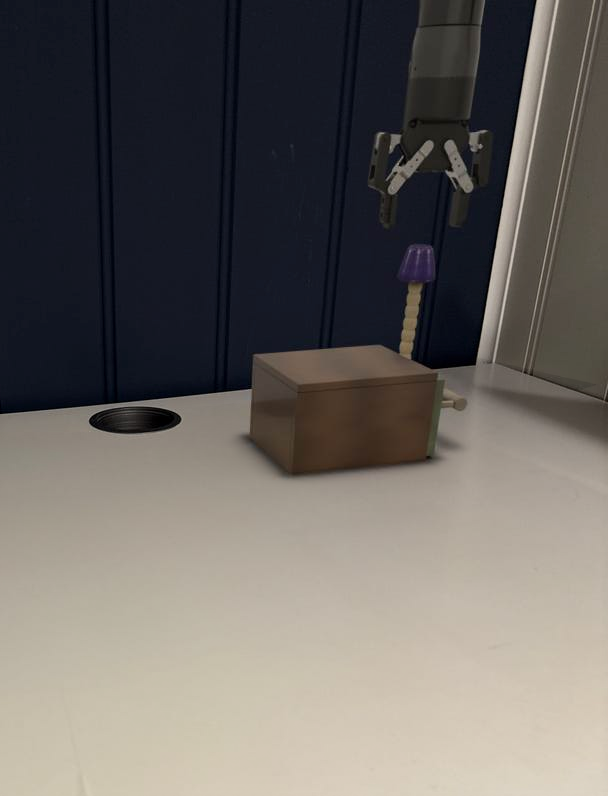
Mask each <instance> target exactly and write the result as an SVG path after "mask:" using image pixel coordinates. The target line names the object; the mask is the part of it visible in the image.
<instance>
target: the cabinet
mask: <svg viewBox="0 0 608 796" xmlns="http://www.w3.org/2000/svg"><path fill="white" fill-rule="evenodd" d="M438 376H439V372H437V371H436V370H434V369H431V368H429V367H427V366H425V365H423V364H421V363H418V362H417V361H416V360H415V361H414V360H413V359H412V358H411V359H408V358H406V357H404V356H402V355H400V353H398V352H396V351H394V350H392V349H390V348H388V347H386V346H384V345H381V344H371V345H359V346H346V347H334V348H321V349H307V350H296V351H295V350H294V351H283V352H282V351H281V352H280V351H279V352H267V353H255V354H253V357H252V373H251V395H250V398H251V399H250V418H249V419H250V420H249V439H251V440H252V441H253V443H255V444H256V445H258V446H259V448H261V449H262V450H263V451H264V452H265V453H266V454H267V455H269V456H270V457H271V458H272V459H273V460H274V461H275V462H276V463H277V464H278V465H279V466H281V467H282V468H283V469H284V470H285V471H286V472H287V473H289V474H290V475H291V476H298V475H306V474H307V475H308V474H316V473H325V472H335V471H344V470H345V471H346V470H355V469H363V468H372V467H373V468H374V467H383V466H394V465H401V464H402V465H403V464H413V463H420V462H422V463H423V462H426V460H427V456H426V455H427V448H428V441H429V435H430V428H431V421H432V414H433V407H434V401H435V394H436V387H437V379H438Z"/></svg>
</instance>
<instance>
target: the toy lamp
mask: <svg viewBox="0 0 608 796" xmlns="http://www.w3.org/2000/svg"><path fill="white" fill-rule="evenodd" d="M435 279H436V265H435V254H434V248H433V246H432V245H430V244H424V243H423V244H422V243H415V244H410V245H409V246H408V247H407V250H406V251H405V254H404V257H403V260H402V261H401V265H400V267H399V269H398V273H397V280H398V281H401V282H405V283H408V287H407V289H408V293H407V296H406V304H407V305H406V306H405V309H404V315H405V317H404V319H403V321H402V325H403V326H402V328H403V329H402V331H401V334H400V339H401V341H400V343H399V354H400V355H402V356H404V357H406V358H408V359H411V360H412V354H411V353H412V352H413V349H414V343H413V341H414V340H415V337H416V330H415V329H416V328H417V326H418V318H417V317H418V314H419V312H420V311H419V310H420V306H419V304H420V302H421V297H422V296H421V291H422V289H423V284H426V283H432V282H434V281H435Z"/></svg>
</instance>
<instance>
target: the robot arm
mask: <svg viewBox="0 0 608 796" xmlns="http://www.w3.org/2000/svg"><path fill="white" fill-rule="evenodd" d="M485 2H486V0H419V1H418V11H417V19H416V28H415V34H414V39H413V42H412V46H411V52H410V57H409V58H410V59H409V64H408V67H407V74H408V77H407V83H406V84H407V85H406V91H405V92H406V93H405V100H404V101H405V102H404V109H403V117H402V118H403V120H402V122H403V123H402V127H401V130H400V132H399V133H398V134H395V133H390V132H384V131H383V132H382V131H379V132H376V134H375V135H374V138H373V145H372V152H371V157H370V158H371V159H370V164H369V171H368V176H367V186H368V187H369V188H372V189H374V190H377V191H378V192H380V194H381V199H380V206H379V207H380V210H379V216H378V218H379V222H380V223H381V224H382V227H383V228H384V229H394V228H395V225H396V218H397V217H396V216H397V209H398V208H397V206H398V199H399V195H398V194H397V192H398V191H399V190H400V188H401V187H402V186H403V185H404V183H405V182H406V181H407V180H408V179H409V178H411V177H412V176H413V174H414V173H419V174H424V173H426V174H427V173H430V172H434V173H445V174H446V176H448V178H449V179H450V181H451V182H452V184H453V186H454V188H455V192H453V193H452V197H451V204H450V211H449V217H448V225H449V226H450V227H454V228H458V227H459V228H460V227H461V226H462V223H463V222H465V221H466V219H467V216H468V209H469V205H470V197H471V193H472V192H473V191H474V190H477V189H479V188H484V187H486V186H487V185H488V183H489V179H490V171H491V170H490V169H491V162H492V153H493V145H494V132H493V131H491V130H485V129H484V130H483V129H482V130H478V131H476V132H470V129H469V121H470V117H471V112H472V107H473V105H472V104H473V98H474V93H475V85H476V79H477V73H478V72H477V71H478V64H479V59H480V52H481V51H480V50H481V29H482V23H483V16H484V9H485V4H486V3H485ZM468 144H469V149H470V151H471V152H472V160H471V169H470V170H471V171H470V175H469V173H468V169H467V166H466V164H465V163H464V161H463V159H462V157H461V154H462V153H463V151H464V150H465V149H466V148H467V146H468ZM396 146H398V149H399V151H400V153H401V154H402V156H401V158H400V159H399V160H398V161H397V163H395V165H394V167H393V168H392V169H391V173H390V174H389V175H388V176H387V178H386V175H387V174H386V173H387V167H388V162H389V156H390V154H392V153H393V152H394V150H395V147H396Z"/></svg>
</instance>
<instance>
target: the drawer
mask: <svg viewBox="0 0 608 796" xmlns="http://www.w3.org/2000/svg"><path fill="white" fill-rule="evenodd" d="M445 384H446V379H445V378H443V377H441V376H439V375H438V379H437V387H436V394H435V401H434V407H433V414H432V421H431V428H430V435H429V441H428V448H427V455H426V457H430V456H435V450H436V445H437V444H436V442H437V437H438V430H439V425H440V424H439V423H440V417H441V410H442V409H453V410H455V411H457V412H462V411H464V410H465V409H466V408H467V406H468V400H467V398H465V397H464V396H461V395H459V394H458V393H455V392H453V391H452V390H449V389H447V388H445Z"/></svg>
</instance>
